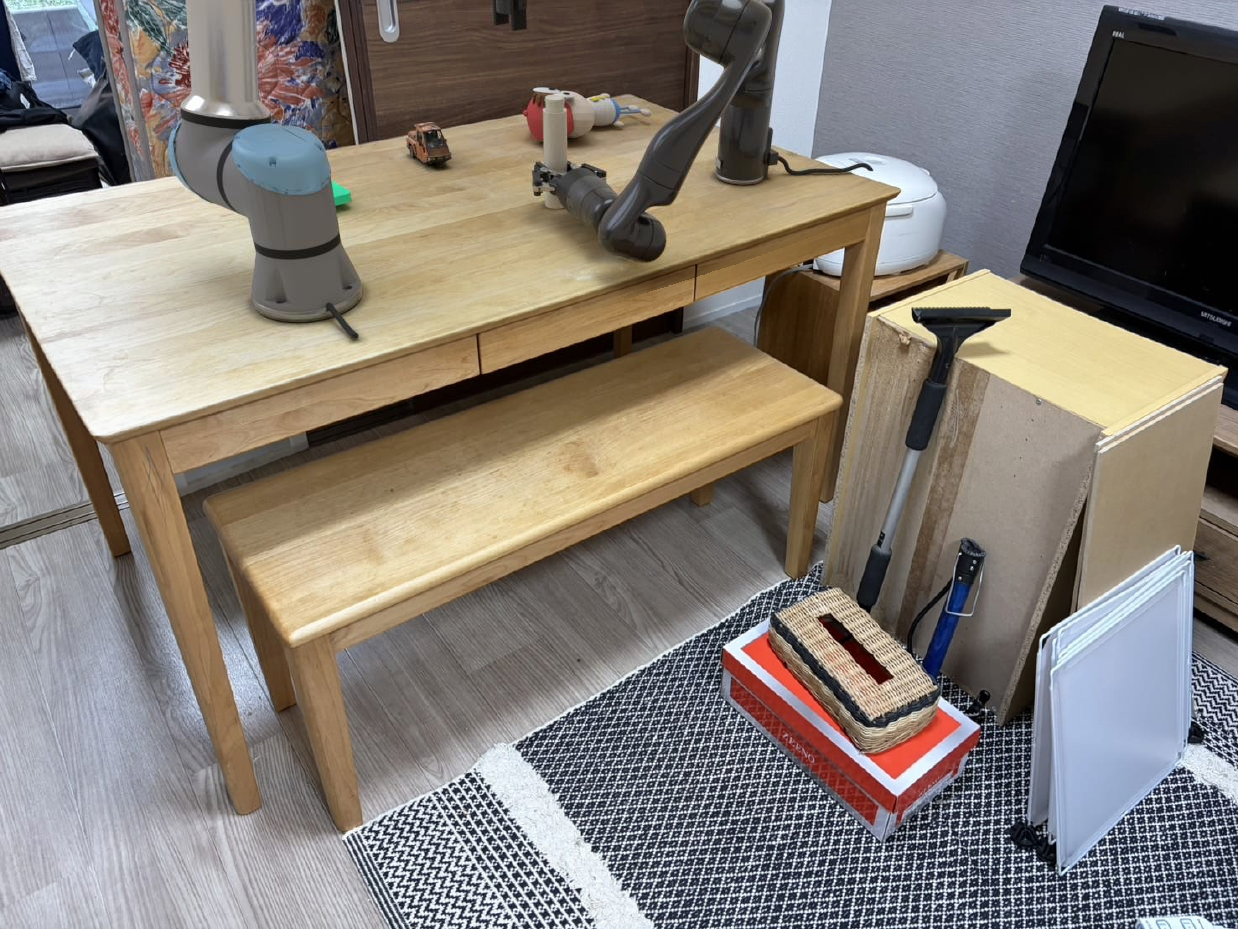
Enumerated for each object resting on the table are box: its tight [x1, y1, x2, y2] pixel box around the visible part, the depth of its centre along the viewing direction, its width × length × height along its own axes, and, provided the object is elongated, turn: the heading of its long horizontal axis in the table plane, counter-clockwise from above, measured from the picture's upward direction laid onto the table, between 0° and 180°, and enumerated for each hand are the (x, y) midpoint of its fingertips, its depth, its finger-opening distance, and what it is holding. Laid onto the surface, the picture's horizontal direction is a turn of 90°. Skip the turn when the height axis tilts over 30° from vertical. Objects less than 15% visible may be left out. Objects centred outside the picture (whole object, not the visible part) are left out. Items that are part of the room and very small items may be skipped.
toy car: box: [405, 121, 453, 169], centre depth 181 cm, size 6×12×7 cm, turn 39°
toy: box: [522, 86, 652, 143], centre depth 198 cm, size 18×10×30 cm
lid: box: [496, 0, 511, 15], centre depth 160 cm, size 5×5×2 cm
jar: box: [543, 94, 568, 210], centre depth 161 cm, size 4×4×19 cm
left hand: (510, 26), depth 162 cm, fingers closed on lid, 5 cm apart
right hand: (549, 165), depth 165 cm, fingers closed on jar, 4 cm apart
